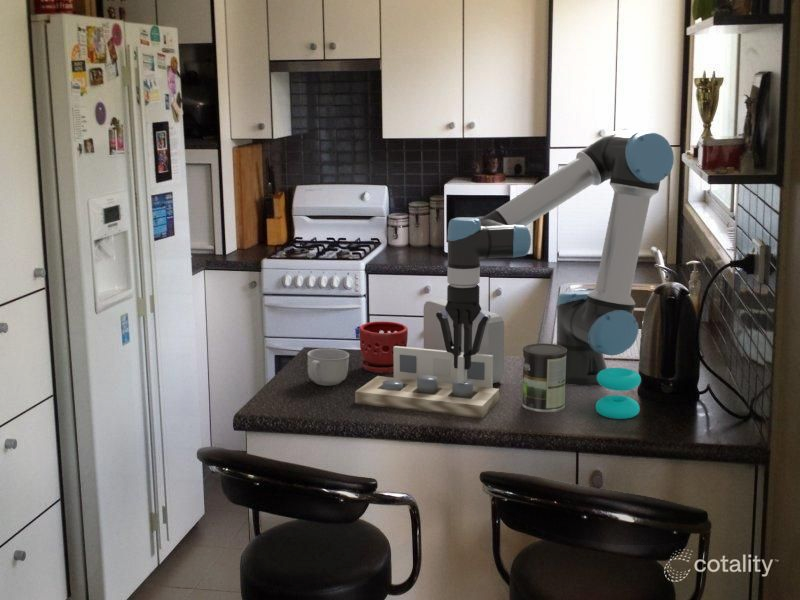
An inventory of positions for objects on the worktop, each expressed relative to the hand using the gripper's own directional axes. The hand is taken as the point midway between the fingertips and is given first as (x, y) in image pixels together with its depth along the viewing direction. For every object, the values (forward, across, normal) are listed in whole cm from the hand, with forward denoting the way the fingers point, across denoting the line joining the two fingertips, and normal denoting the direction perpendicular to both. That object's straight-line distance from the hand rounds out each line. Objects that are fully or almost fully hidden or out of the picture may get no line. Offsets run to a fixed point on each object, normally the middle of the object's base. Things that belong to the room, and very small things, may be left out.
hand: (462, 381), depth 230 cm
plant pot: (+6, +30, -23) cm, 38 cm away
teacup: (+7, +39, -5) cm, 40 cm away
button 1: (+5, +18, 0) cm, 19 cm away
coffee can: (+6, -18, -7) cm, 20 cm away
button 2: (+3, 0, 0) cm, 3 cm away
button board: (+6, +9, 0) cm, 11 cm away
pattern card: (+6, +9, -11) cm, 15 cm away
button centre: (+3, +9, 0) cm, 9 cm away
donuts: (+6, -36, -7) cm, 37 cm away
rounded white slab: (+6, +9, -27) cm, 29 cm away
